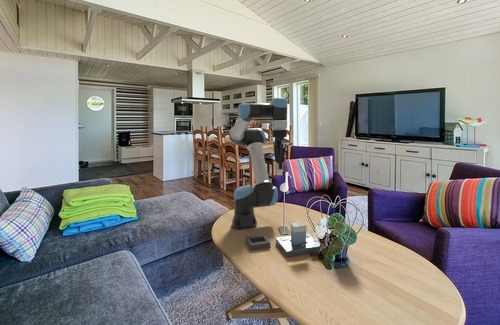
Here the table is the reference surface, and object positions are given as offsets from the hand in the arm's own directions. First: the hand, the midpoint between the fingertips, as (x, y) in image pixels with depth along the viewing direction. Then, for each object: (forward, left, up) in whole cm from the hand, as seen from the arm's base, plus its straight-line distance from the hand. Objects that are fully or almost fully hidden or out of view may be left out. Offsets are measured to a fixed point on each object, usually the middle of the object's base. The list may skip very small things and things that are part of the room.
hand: (279, 175), depth 134 cm
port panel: (+15, +4, -34) cm, 38 cm away
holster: (+6, -14, -34) cm, 38 cm away
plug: (+15, +4, -33) cm, 37 cm away
